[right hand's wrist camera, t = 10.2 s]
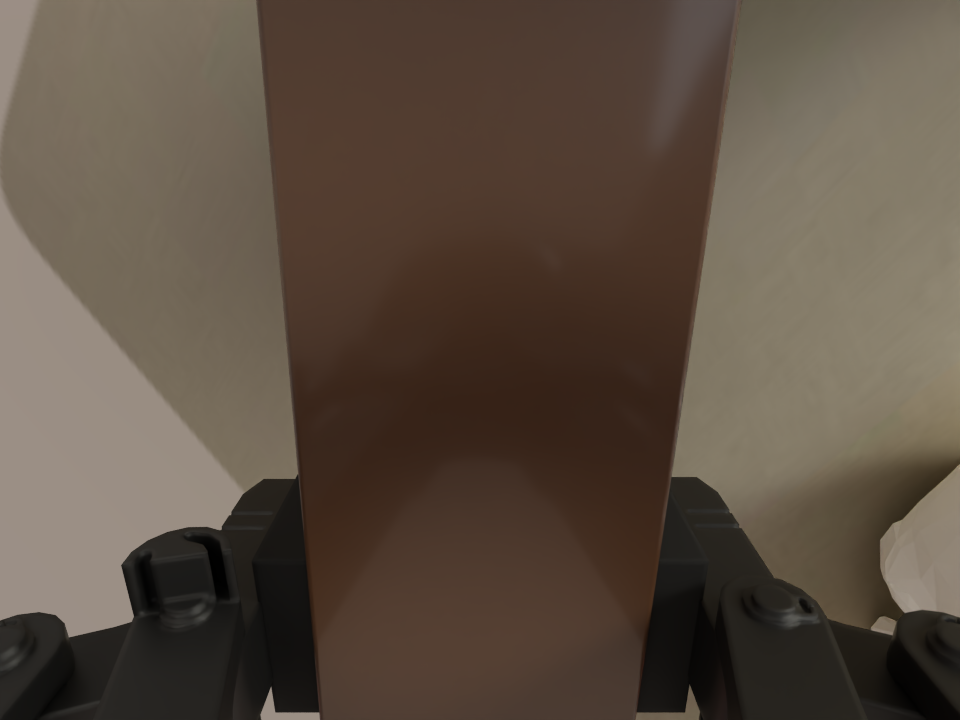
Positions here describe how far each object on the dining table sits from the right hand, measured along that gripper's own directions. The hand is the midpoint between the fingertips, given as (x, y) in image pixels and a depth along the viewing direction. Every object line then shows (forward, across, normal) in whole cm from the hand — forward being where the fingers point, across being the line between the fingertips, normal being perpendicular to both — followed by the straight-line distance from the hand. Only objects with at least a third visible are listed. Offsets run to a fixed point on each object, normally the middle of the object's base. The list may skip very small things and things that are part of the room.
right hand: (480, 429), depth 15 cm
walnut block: (0, 0, +9) cm, 9 cm away
